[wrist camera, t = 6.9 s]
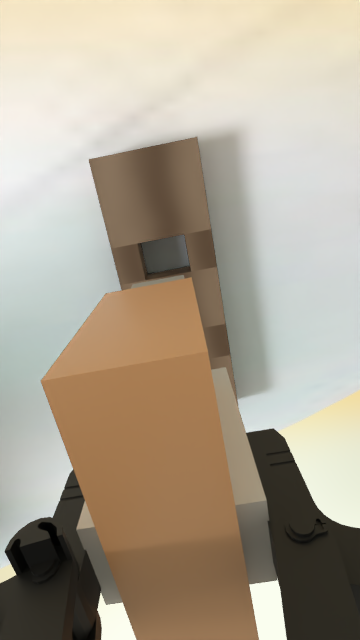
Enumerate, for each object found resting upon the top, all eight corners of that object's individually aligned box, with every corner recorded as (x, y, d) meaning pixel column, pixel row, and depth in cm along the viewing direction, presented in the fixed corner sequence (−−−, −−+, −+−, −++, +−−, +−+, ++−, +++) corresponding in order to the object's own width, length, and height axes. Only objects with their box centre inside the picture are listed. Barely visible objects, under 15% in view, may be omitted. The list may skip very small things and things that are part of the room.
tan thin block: (169, 460, 19) (164, 715, 10) (122, 270, 15) (40, 381, 6) (222, 452, 19) (270, 702, 9) (187, 258, 15) (207, 351, 6)
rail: (158, 414, 35) (157, 430, 32) (95, 163, 27) (88, 159, 25) (235, 401, 34) (239, 416, 32) (194, 142, 27) (197, 137, 24)
